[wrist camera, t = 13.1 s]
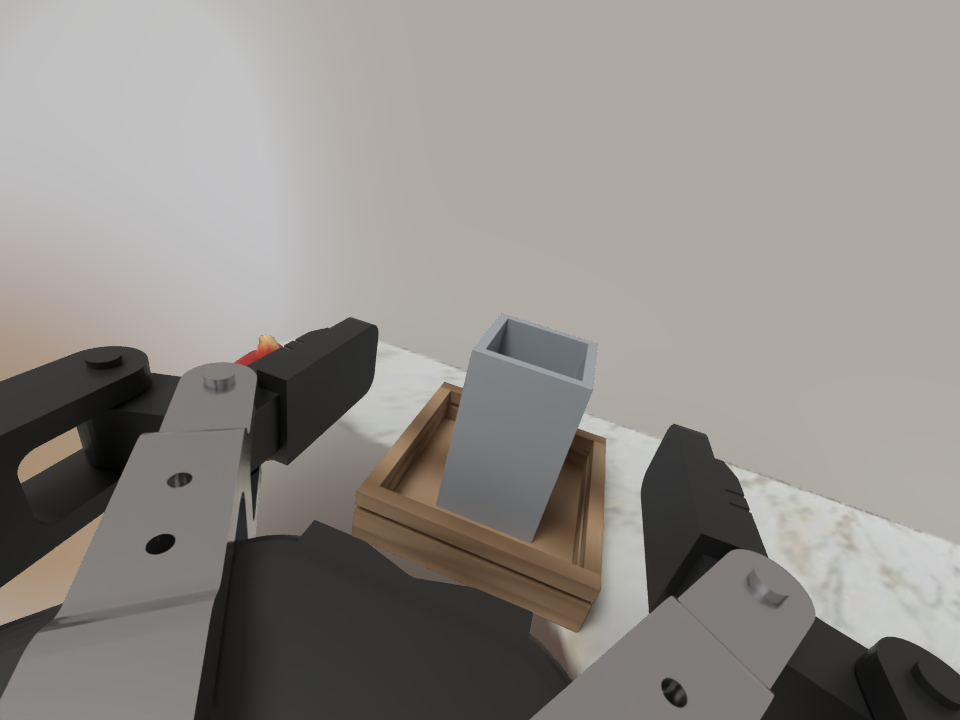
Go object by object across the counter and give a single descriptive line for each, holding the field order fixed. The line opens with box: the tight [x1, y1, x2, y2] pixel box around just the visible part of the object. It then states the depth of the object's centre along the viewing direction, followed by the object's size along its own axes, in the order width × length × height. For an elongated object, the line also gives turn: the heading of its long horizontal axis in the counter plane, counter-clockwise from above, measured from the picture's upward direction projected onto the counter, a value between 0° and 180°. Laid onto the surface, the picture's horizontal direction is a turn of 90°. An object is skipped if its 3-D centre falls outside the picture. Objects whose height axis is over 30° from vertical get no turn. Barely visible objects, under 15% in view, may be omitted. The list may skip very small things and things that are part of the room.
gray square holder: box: [436, 313, 598, 544], centre depth 24 cm, size 6×6×10 cm
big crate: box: [351, 382, 606, 632], centre depth 26 cm, size 12×12×3 cm
